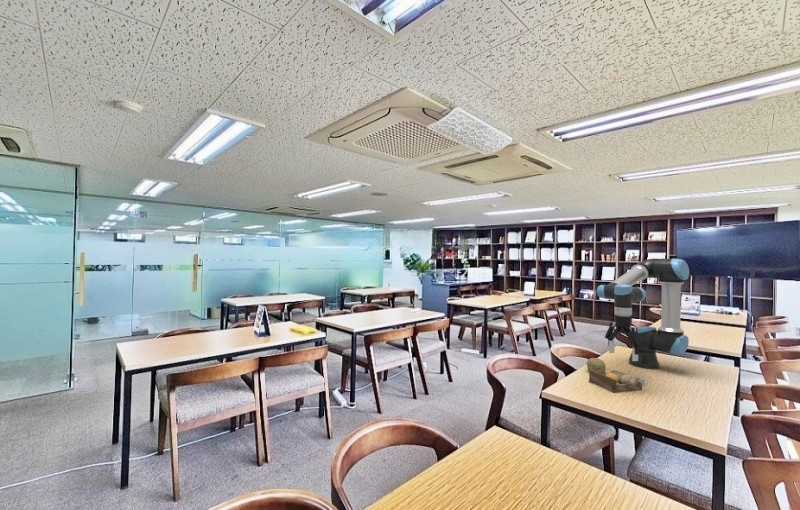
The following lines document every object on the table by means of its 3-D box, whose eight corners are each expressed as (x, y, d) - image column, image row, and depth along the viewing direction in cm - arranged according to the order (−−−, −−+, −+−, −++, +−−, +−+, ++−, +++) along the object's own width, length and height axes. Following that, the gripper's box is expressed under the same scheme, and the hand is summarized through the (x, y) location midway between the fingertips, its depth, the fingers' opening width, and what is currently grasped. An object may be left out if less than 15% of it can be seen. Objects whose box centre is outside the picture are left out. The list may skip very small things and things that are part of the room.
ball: (603, 370, 177) (600, 381, 177) (613, 374, 171) (610, 386, 171) (612, 372, 179) (609, 384, 178) (622, 376, 173) (619, 388, 172)
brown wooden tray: (615, 379, 185) (615, 367, 185) (642, 389, 170) (642, 377, 170) (589, 381, 180) (589, 370, 180) (614, 392, 166) (614, 380, 166)
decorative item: (602, 382, 191) (613, 367, 191) (588, 370, 191) (599, 356, 191) (593, 376, 200) (603, 362, 200) (579, 365, 200) (590, 352, 200)
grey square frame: (637, 381, 181) (637, 376, 181) (644, 384, 178) (644, 379, 178) (632, 382, 180) (632, 377, 180) (638, 384, 177) (638, 379, 177)
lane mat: (615, 379, 185) (615, 378, 185) (642, 389, 170) (642, 389, 170) (589, 381, 180) (589, 380, 180) (614, 392, 166) (614, 391, 166)
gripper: (597, 311, 188) (597, 350, 188) (639, 320, 163) (639, 365, 164) (608, 310, 189) (608, 349, 190) (652, 319, 165) (652, 363, 166)
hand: (623, 356), depth 177 cm, fingers open, 13 cm apart
